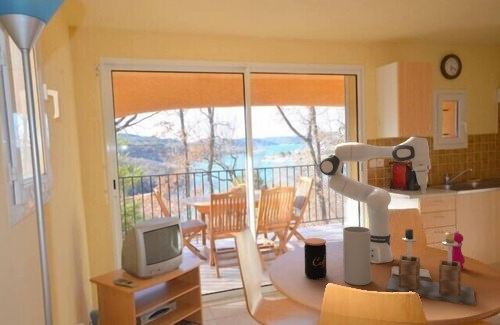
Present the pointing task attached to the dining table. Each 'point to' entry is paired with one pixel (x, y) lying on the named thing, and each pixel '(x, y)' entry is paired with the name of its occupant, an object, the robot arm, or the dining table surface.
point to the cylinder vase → (357, 255)
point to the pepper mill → (458, 249)
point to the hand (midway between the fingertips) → (424, 192)
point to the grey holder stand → (443, 290)
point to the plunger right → (449, 245)
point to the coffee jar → (315, 258)
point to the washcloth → (423, 274)
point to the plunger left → (409, 241)
